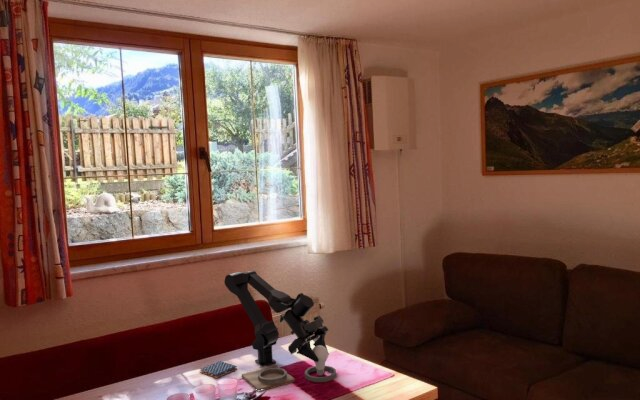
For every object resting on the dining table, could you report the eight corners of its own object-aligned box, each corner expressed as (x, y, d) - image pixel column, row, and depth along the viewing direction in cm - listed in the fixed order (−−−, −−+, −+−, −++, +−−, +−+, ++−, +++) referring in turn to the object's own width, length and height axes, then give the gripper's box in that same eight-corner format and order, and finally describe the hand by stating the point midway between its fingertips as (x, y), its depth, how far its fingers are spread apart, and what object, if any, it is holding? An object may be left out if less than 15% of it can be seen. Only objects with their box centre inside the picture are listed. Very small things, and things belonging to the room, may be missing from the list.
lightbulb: (329, 372, 182) (328, 342, 182) (328, 379, 176) (327, 348, 176) (313, 372, 183) (311, 342, 182) (311, 379, 177) (309, 348, 176)
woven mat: (220, 364, 196) (220, 359, 196) (238, 370, 189) (238, 365, 189) (198, 373, 188) (198, 368, 188) (216, 380, 181) (216, 374, 181)
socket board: (241, 377, 181) (241, 370, 181) (276, 368, 188) (276, 361, 188) (258, 391, 168) (257, 384, 168) (294, 381, 175) (294, 374, 175)
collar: (299, 374, 182) (299, 370, 181) (325, 367, 187) (325, 363, 187) (314, 384, 172) (314, 380, 172) (341, 377, 178) (341, 372, 177)
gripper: (293, 317, 173) (320, 354, 167) (323, 304, 188) (349, 337, 182) (276, 336, 178) (302, 372, 172) (307, 322, 193) (332, 354, 187)
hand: (323, 358), depth 178 cm, fingers open, 6 cm apart
